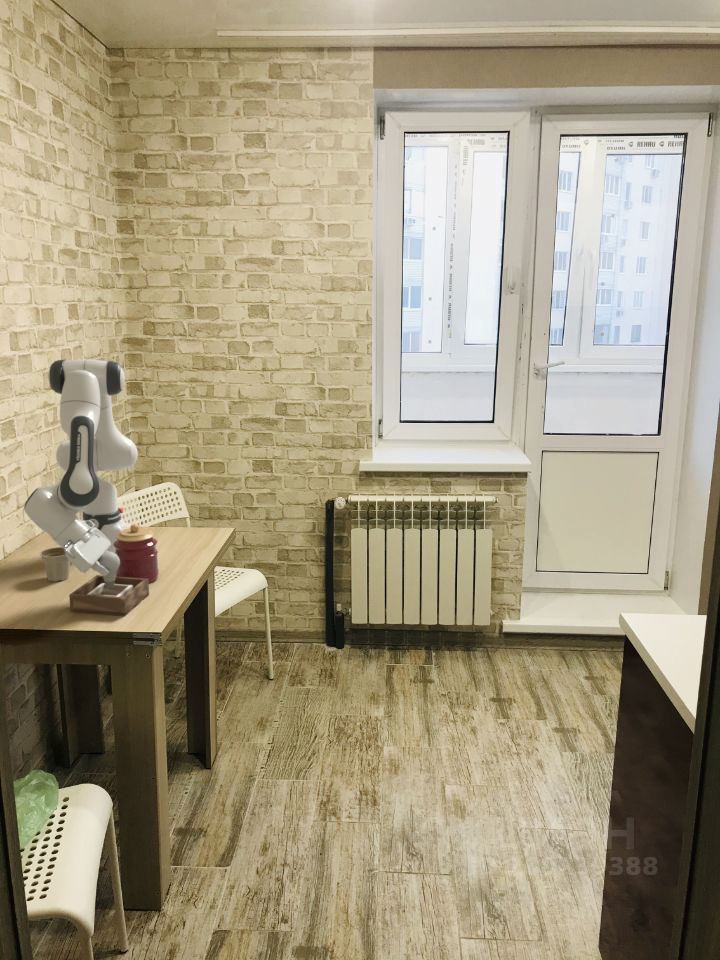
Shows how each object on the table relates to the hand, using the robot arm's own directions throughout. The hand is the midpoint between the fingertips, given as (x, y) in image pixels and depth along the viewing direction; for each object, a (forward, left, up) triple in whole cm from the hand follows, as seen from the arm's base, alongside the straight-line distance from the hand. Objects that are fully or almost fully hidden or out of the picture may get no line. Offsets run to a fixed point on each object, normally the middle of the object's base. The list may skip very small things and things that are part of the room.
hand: (111, 569), depth 220 cm
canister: (-20, -2, -10) cm, 23 cm away
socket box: (0, -1, -10) cm, 10 cm away
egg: (0, -1, -6) cm, 6 cm away
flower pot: (-16, -26, -10) cm, 32 cm away
